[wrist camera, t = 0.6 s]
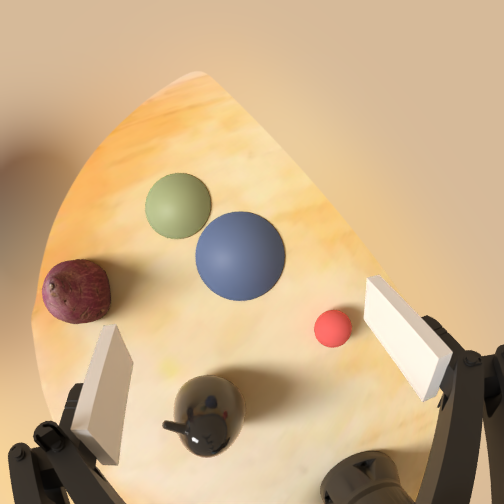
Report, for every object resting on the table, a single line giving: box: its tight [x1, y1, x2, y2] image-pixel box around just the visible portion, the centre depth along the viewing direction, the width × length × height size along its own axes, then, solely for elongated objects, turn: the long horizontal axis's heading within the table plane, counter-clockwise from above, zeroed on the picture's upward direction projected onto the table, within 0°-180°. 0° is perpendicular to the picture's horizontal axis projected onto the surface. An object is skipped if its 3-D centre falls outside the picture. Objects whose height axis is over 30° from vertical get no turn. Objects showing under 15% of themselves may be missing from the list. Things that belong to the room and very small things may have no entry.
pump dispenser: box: [162, 375, 246, 458], centre depth 38 cm, size 10×10×15 cm
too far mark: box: [145, 173, 211, 239], centre depth 46 cm, size 10×10×1 cm
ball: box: [314, 310, 352, 347], centre depth 44 cm, size 6×6×6 cm
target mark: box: [196, 212, 285, 301], centre depth 47 cm, size 13×13×1 cm
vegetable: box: [42, 259, 111, 324], centre depth 39 cm, size 10×10×15 cm
